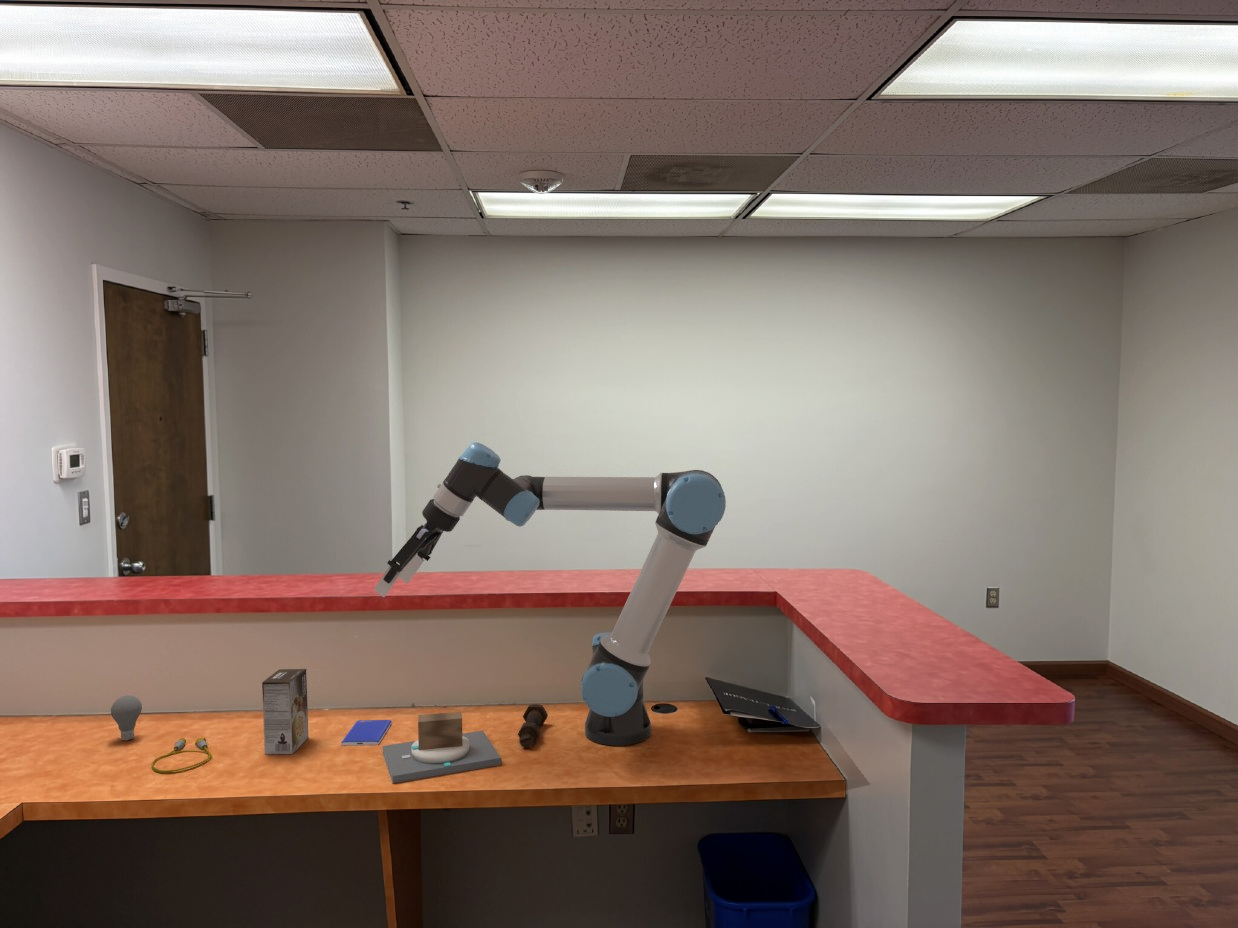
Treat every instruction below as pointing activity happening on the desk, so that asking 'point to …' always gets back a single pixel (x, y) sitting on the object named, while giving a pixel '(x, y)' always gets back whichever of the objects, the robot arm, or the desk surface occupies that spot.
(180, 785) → the desk surface
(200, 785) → the desk surface
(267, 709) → the coffee box
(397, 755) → the dial plate
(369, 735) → the hard drive
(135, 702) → the light bulb
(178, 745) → the extension cord
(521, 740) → the bolt
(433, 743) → the dial
